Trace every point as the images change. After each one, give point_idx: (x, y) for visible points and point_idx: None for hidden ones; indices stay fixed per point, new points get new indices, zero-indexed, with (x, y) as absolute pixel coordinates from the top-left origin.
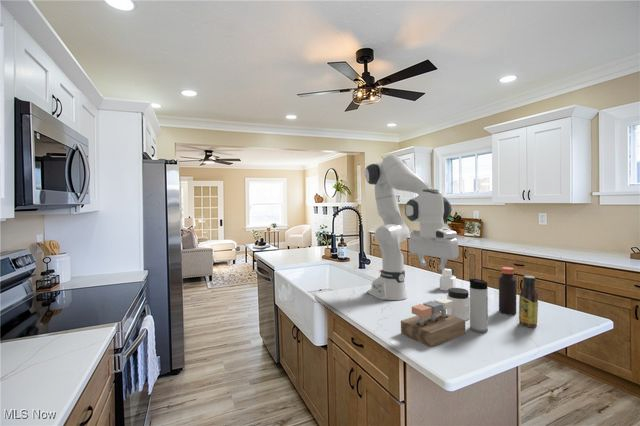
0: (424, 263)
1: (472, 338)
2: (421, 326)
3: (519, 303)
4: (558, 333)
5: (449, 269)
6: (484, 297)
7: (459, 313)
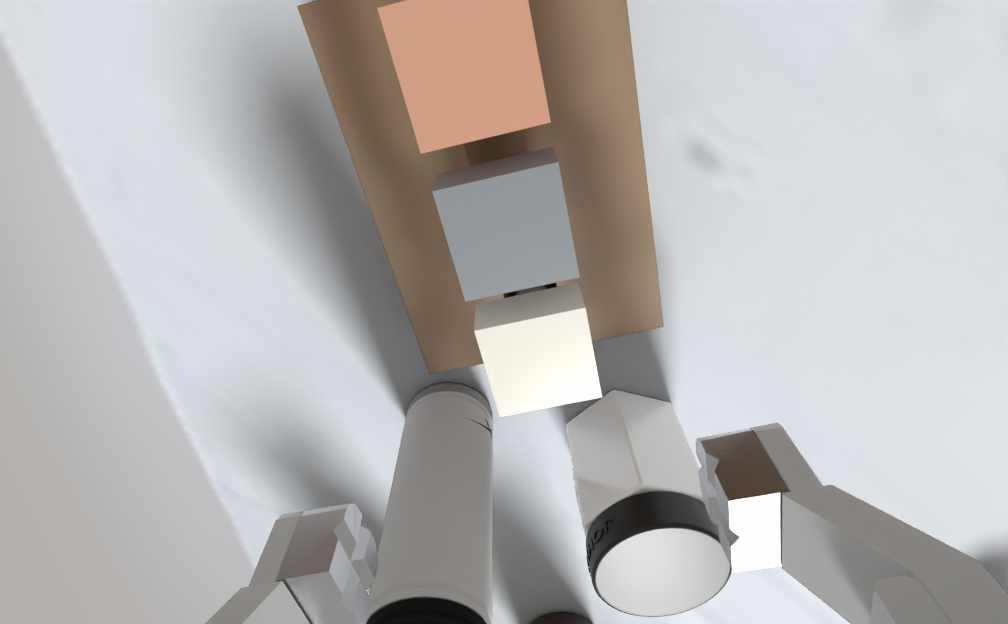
0: (717, 496)
1: (367, 317)
2: None
3: None
4: None
5: None
6: None
7: (587, 440)
